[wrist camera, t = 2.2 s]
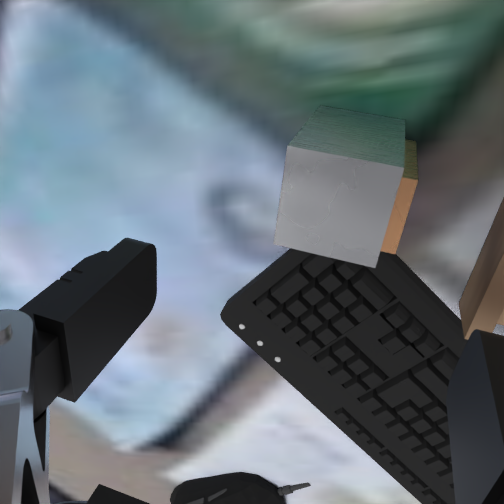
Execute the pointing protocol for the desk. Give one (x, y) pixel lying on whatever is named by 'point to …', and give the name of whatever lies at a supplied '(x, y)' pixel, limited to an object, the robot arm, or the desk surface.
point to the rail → (486, 284)
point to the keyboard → (362, 356)
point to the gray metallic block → (347, 186)
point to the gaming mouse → (231, 490)
